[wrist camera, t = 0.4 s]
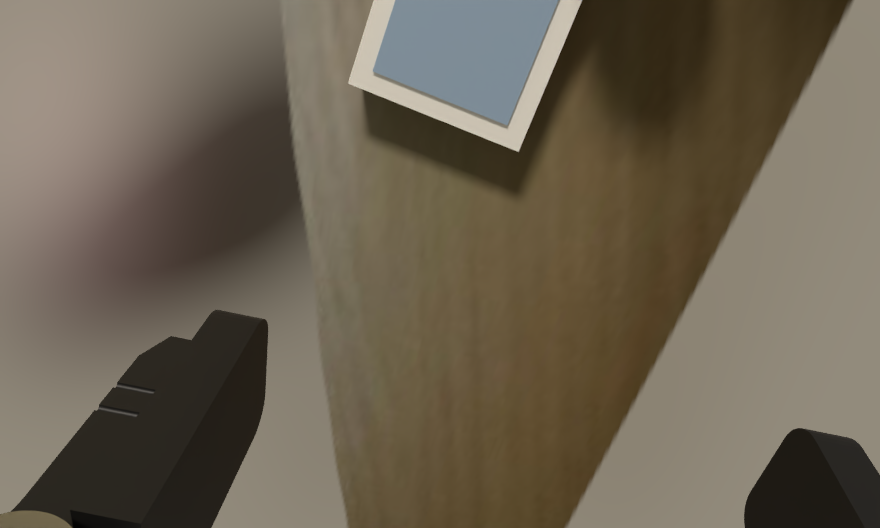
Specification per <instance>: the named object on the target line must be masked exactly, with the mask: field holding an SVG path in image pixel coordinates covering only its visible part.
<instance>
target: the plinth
mask: <svg viewBox="0 0 880 528" xmlns="http://www.w3.org/2000/svg"><path fill="white" fill-rule="evenodd" d="M581 2H582V0H374V2H373V5H372V8H371V11H370V15H369V18H368V21H367V24H366V27H365V31H364V34H363V37H362V40H361V43H360V47H359V50H358V53H357V56H356V59H355V63H354V66H353V69H352V72H351V75H350V79H349V82H348V84H350V85H353V86H355V87H358V88H360V89H363V90H365V91H368V92H370V93H373V94H375V95H378V96H380V97H383V98H385V99H388V100H390V101H393V102H395V103H398V104H400V105H403V106H405V107H408V108H410V109H413V110H415V111H418V112H420V113H423V114H425V115H428V116H430V117H433V118H435V119H438V120H440V121H443V122H445V123H448V124H450V125H453V126H455V127H458V128H460V129H462V130H465V131H467V132H470V133H472V134H475V135H477V136H480V137H482V138H485V139H487V140H490V141H492V142H495V143H497V144H500V145H502V146H505V147H507V148H510V149H512V150H515V151H517V152H519V150H520V147H521V145H522V142H523V140H524V138H525V135H526V133H527V130H528V128H529V126H530V123H531V121H532V119H533V116H534V114H535V111H536V109H537V107H538V104H539V102H540V100H541V97H542V95H543V92H544V90H545V88H546V85H547V83H548V81H549V78H550V76H551V73H552V71H553V69H554V66H555V64H556V61H557V59H558V57H559V54H560V52H561V50H562V47H563V45H564V42H565V40H566V38H567V35H568V33H569V31H570V28H571V26H572V23H573V21H574V19H575V16H576V14H577V12H578V9H579V7H580V4H581Z"/></svg>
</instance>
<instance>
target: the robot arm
mask: <svg viewBox="0 0 880 528" xmlns="http://www.w3.org/2000/svg"><path fill="white" fill-rule="evenodd" d="M267 343H268V324H267V321H266V320H265V319H261V318H256V317H250V316H245V315H240V314H236V313H230V312H226V311H221V310H215V311H213V312H212V313H211V314H210V315H209V317H208V318H207V319H206V321H205V322H204V324H203V325H202V326H201V328H200V329H199V331H198V332H197V333H196V335H195V336H194V338H193V339H192V340H187V339H182V338H177V337H172V336H171V337H169V338H167V339H166V340H164V341H162V342H161V343H159V344H157V345H156V346H154V347H152V348H151V349H150V350H147V351H146V352H144V353H142V354H141V355H139V356H138V357H137V359H136V360H135V361H134V362H133V364H132V365H131V366H130V367H129V369H128V370H127V371H126V372H125V373H124V375H123V376H122V377H121V378H120V380H119V381H118V382H117V387H116V388H112V390H111V391H110V392H109V393H108V394H107V396H106V397H105V398H104V400H103V401H102V402H101V403H100V404H99V409H98V410H97V411H95V410H94V412H93V413H92V414H91V415H90V417H89V418H88V419H87V420H86V422H85V423H84V424H83V425H82V427H81V428H80V429H79V430H78V431H77V433H76V434H75V435H74V436H73V438H72V439H71V440H70V441H69V443H68V444H67V445H66V446H65V448H64V449H63V450H62V451H61V452H60V454H59V455H58V457H56V459H55V460H54V461H53V462H52V464H51V465H50V466H49V467H48V469H47V470H46V471H45V473H43V475H42V476H41V477H40V479H39V480H38V481H37V482H36V484H35V485H34V486H33V487H32V488H31V490H30V491H29V492H28V493H27V494H26V496H25V497H24V498H23V499H22V500H21V502H20V503H19V504H18V505H17V506H16V507H15V508H14V509H13V510H12V511H11V512H7V513H3V514H0V528H211V527H212V525H213V523H214V521H215V519H216V517H217V515H218V512H219V510H220V508H221V506H222V504H223V502H224V500H225V498H226V495H227V493H228V491H229V489H230V487H231V485H232V483H233V480H234V479H235V476H236V474H237V472H238V470H239V468H240V466H241V464H242V461H243V459H244V457H245V455H246V453H247V451H248V449H249V447H250V445H251V442H252V441H253V438H254V436H255V434H256V431H257V428H258V425H259V422H260V419H261V415H262V411H263V406H264V400H265V386H266V365H267ZM744 523H745V528H880V475H879V473H878V472H877V470H876V469H875V467H874V466H873V464H872V462H871V461H870V459H869V458H868V456H867V455H866V453H865V452H864V450H863V448H862V447H861V446H860V445H859V444H858V443H857V442H856V441H855V440H853V439H850V438H847V437H842V436H837V435H832V434H827V433H822V432H817V431H812V430H807V429H802V428H798V429H794V430H792V431H791V432H790V433H789V434H787V436H786V437H785V439H784V440H783V442H782V443H781V445H780V447H779V448H778V450H777V451H776V453H775V455H774V456H773V457H772V459H771V461H770V462H769V464H768V465H767V467H766V469H765V470H764V471H763V473H762V475H761V476H760V478H759V479H758V481H757V483H756V484H755V486H754V487H753V489H752V490H751V492H750V494H749V496H748V499H747V501H746V505H745V514H744Z"/></svg>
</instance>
